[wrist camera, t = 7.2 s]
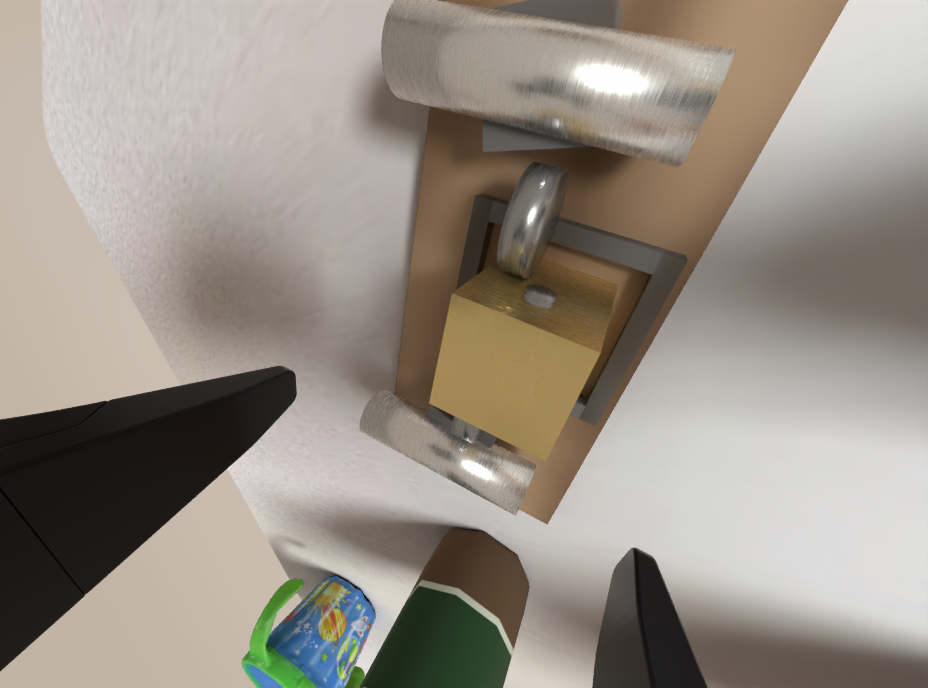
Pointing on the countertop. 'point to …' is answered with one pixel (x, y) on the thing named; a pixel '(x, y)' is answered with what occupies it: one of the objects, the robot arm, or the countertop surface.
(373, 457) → the countertop surface
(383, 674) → the beer bottle
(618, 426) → the countertop surface
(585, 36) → the shafts
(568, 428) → the padlock latch board
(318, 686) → the snack cup
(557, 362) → the block
